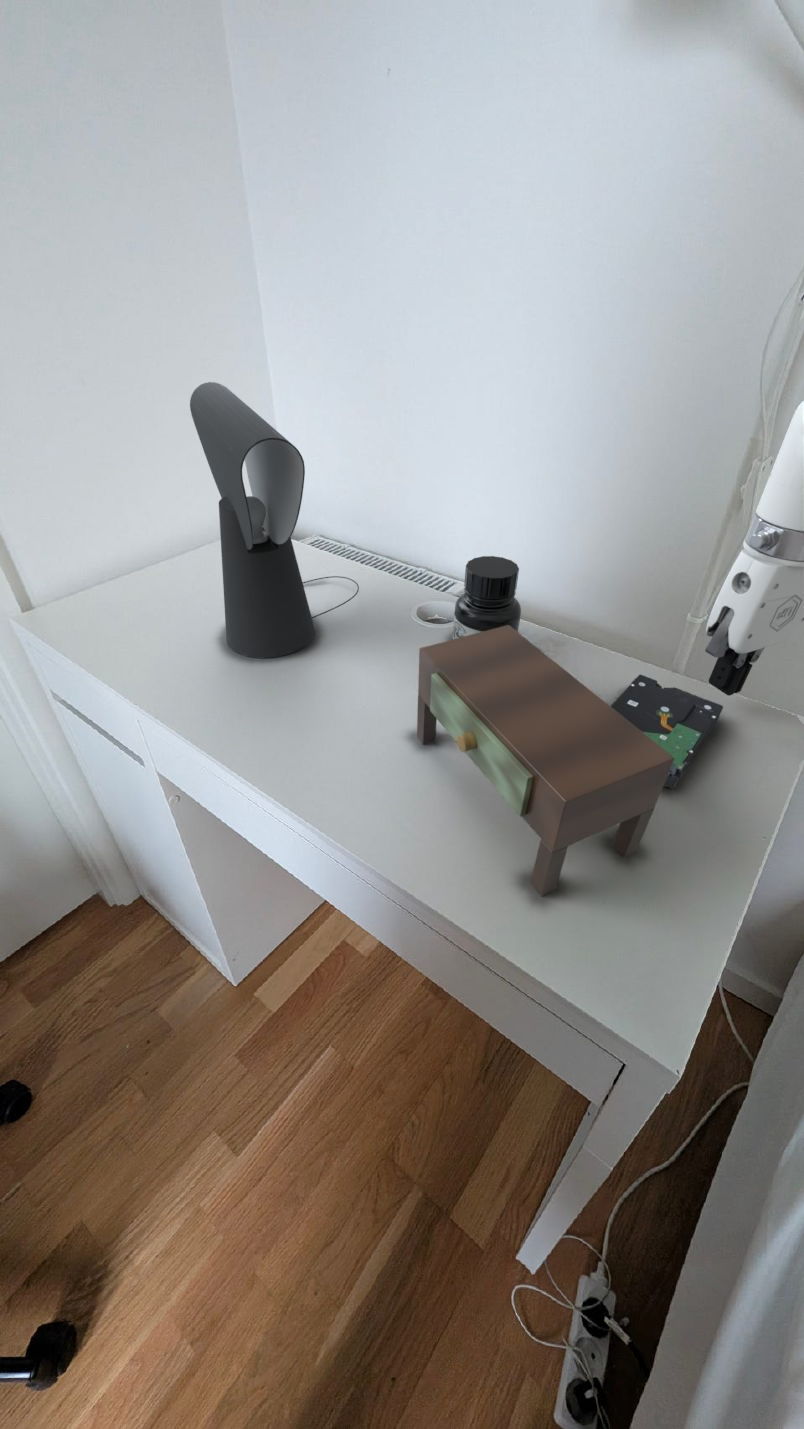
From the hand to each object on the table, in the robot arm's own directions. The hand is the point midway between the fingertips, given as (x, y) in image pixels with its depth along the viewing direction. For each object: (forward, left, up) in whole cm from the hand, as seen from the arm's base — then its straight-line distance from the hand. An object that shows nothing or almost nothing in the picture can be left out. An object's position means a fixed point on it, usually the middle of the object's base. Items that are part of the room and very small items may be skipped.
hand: (723, 687), depth 68 cm
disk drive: (0, +10, -4) cm, 11 cm away
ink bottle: (+25, +17, -4) cm, 31 cm away
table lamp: (+47, +41, -4) cm, 62 cm away
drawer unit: (0, +29, -4) cm, 29 cm away
